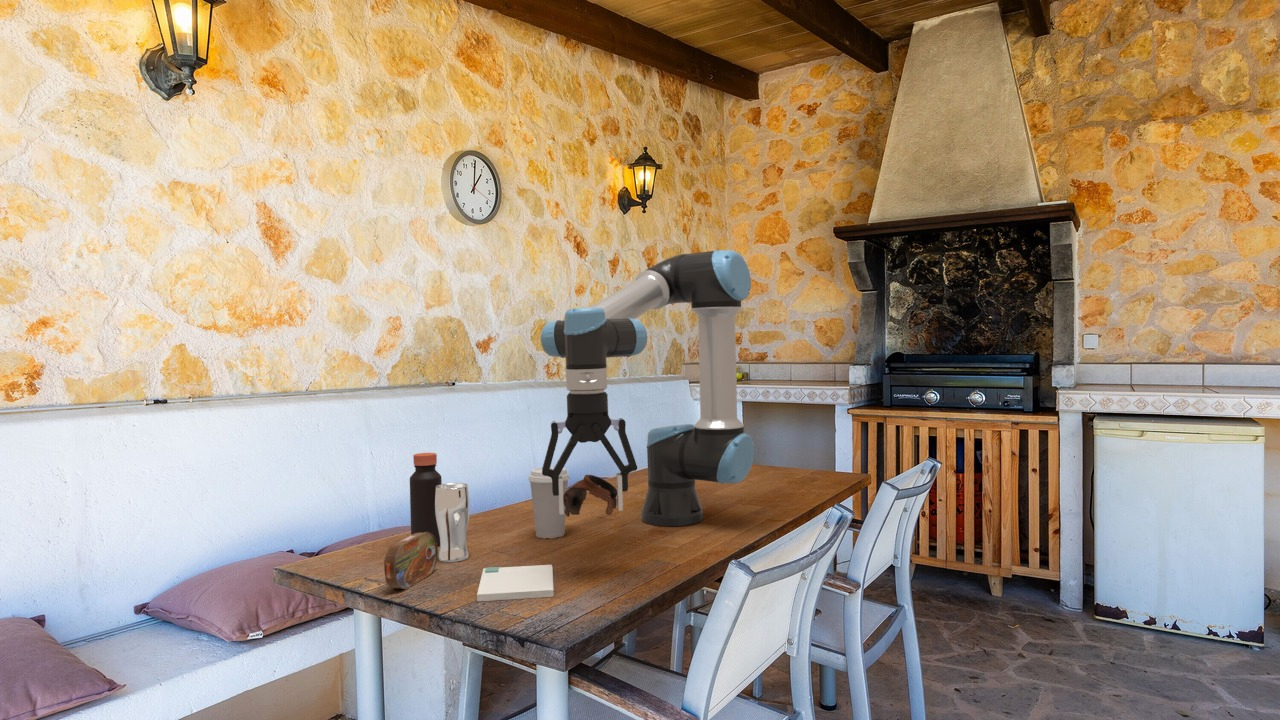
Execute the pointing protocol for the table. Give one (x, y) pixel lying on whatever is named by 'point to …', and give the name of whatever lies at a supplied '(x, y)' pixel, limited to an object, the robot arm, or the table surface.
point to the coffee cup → (547, 504)
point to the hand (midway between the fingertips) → (591, 510)
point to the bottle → (424, 494)
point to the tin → (410, 560)
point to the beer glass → (452, 520)
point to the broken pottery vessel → (592, 484)
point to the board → (516, 583)
